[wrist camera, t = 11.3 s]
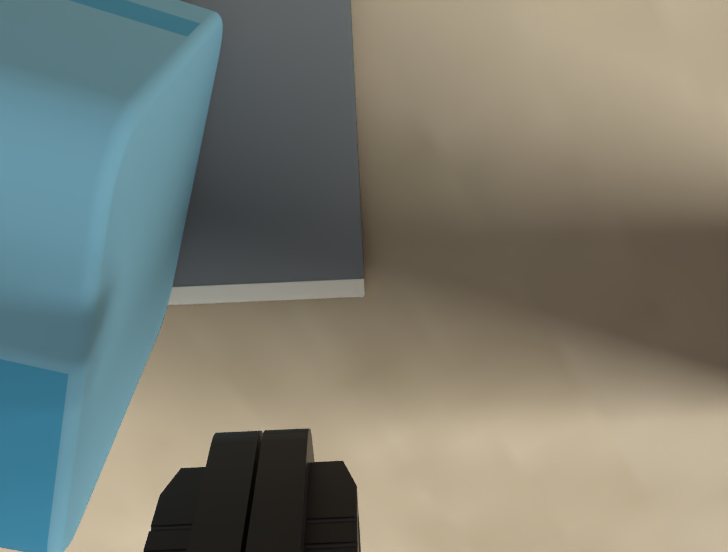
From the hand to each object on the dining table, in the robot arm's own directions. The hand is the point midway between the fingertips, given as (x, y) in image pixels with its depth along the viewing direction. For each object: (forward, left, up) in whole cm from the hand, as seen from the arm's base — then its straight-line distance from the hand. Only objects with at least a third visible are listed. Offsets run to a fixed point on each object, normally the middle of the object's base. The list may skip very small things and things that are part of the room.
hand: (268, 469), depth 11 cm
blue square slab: (+6, 0, -15) cm, 16 cm away
